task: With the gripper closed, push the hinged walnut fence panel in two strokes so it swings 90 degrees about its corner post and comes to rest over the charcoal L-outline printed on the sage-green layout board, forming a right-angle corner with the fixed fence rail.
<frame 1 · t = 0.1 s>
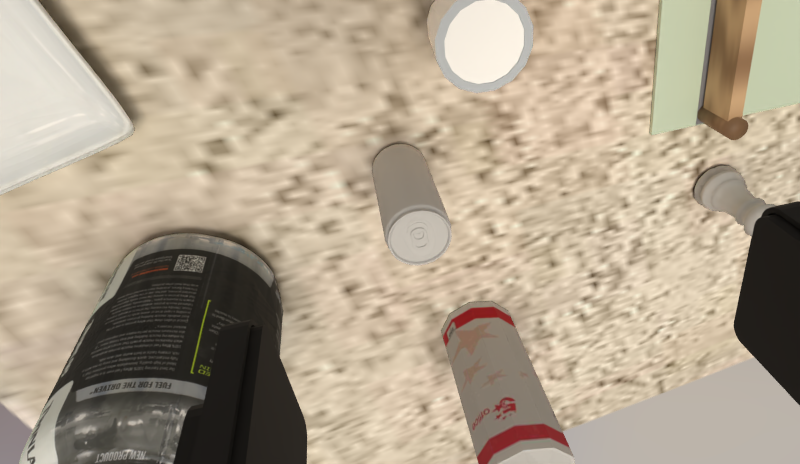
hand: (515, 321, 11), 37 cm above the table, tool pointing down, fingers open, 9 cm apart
rook chess piece: (712, 183, 55), on the table
beverage can: (398, 165, 49), on the table
white short cylinder: (461, 21, 44), on the table
supplement tub: (202, 293, 54), on the table
spray bottle: (476, 327, 61), on the table
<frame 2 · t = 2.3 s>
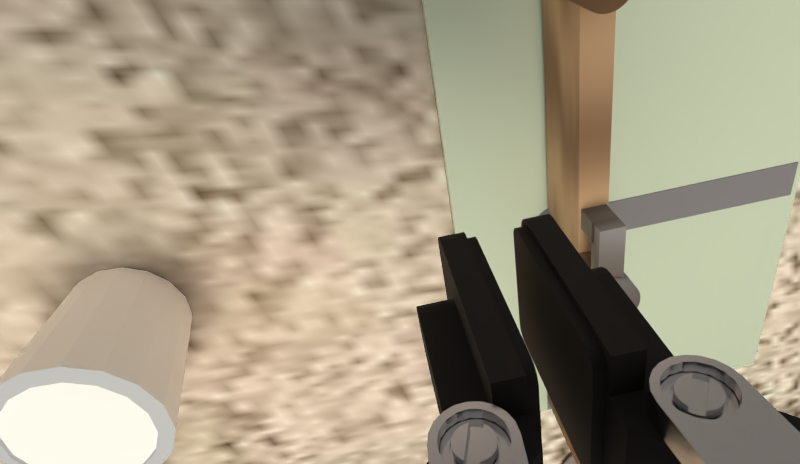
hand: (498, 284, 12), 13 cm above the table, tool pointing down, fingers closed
fixed fence: (556, 224, 27), resting on layout board
fence panel: (586, 144, 21), point 3 cm above the table, hinge at 90.0°
rook chess piece: (588, 460, 38), on the table
layout board: (625, 209, 27), on the table
white short cylinder: (132, 312, 27), on the table
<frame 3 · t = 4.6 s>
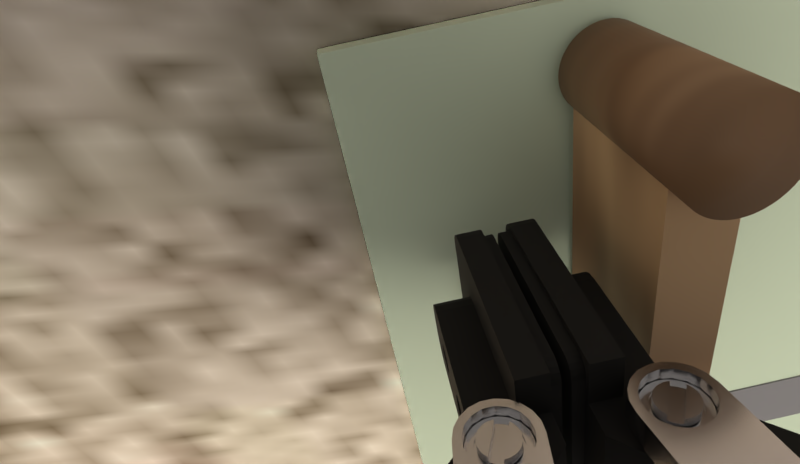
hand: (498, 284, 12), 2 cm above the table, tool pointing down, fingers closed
fence panel: (651, 391, 11), point 3 cm above the table, hinge at 88.8°, touching gripper
layout board: (689, 407, 17), on the table
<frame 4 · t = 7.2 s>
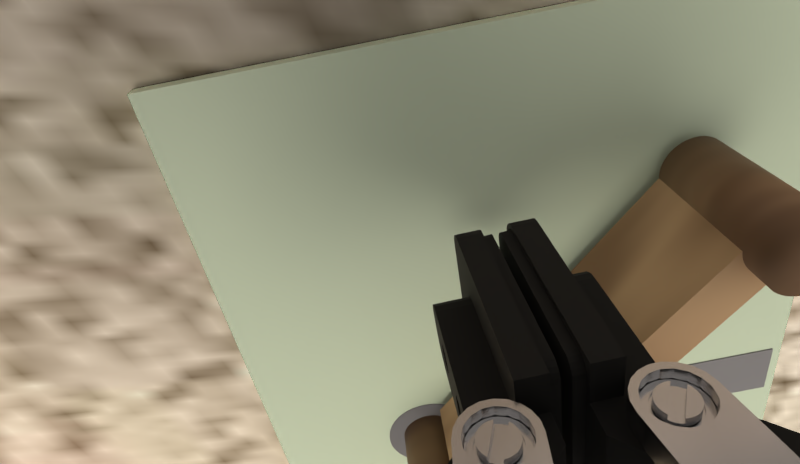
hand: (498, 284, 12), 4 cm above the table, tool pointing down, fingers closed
fixed fence: (428, 422, 19), resting on layout board
fence panel: (575, 395, 14), point 3 cm above the table, hinge at 46.3°
layout board: (527, 403, 19), on the table
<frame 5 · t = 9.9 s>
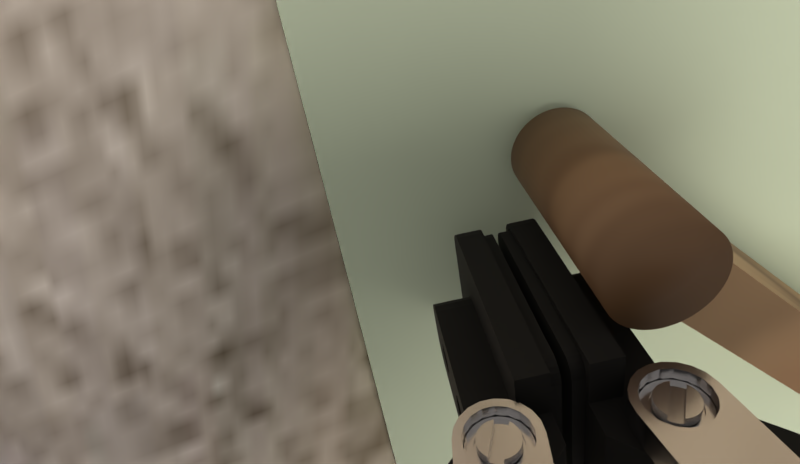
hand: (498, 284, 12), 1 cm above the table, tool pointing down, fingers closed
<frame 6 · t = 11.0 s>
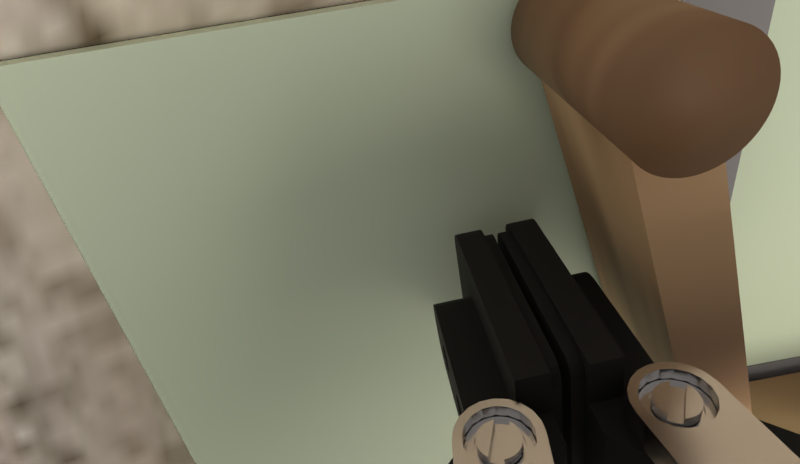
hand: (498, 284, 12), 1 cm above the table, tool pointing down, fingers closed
fixed fence: (648, 393, 16), resting on layout board
fence panel: (690, 353, 11), point 3 cm above the table, hinge at 15.9°, touching gripper
layout board: (663, 303, 15), on the table
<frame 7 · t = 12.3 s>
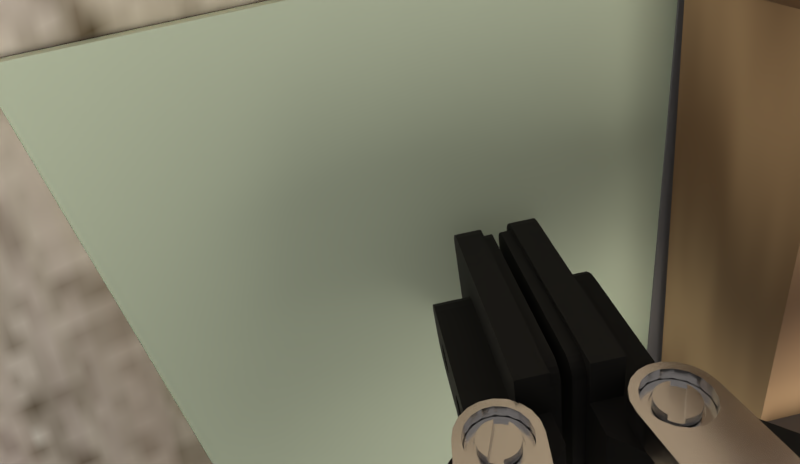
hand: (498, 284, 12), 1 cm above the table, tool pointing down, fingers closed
fence panel: (782, 300, 10), point 3 cm above the table, hinge at 1.9°
layout board: (677, 281, 14), on the table
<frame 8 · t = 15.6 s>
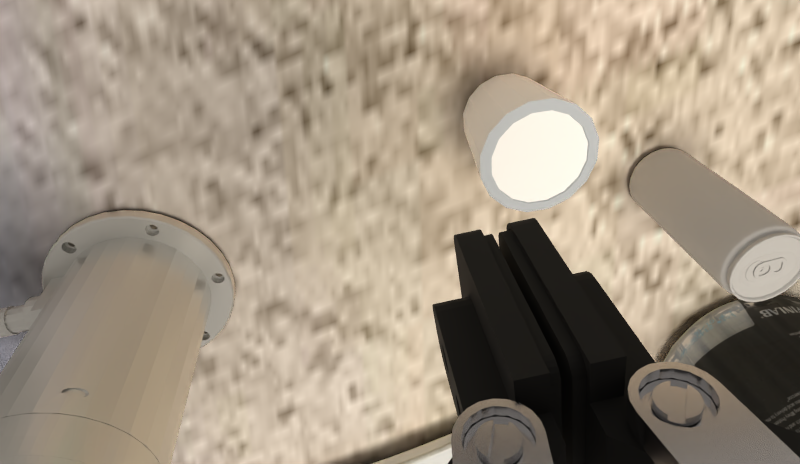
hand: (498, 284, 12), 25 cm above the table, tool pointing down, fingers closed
beverage can: (655, 173, 41), on the table
white short cylinder: (503, 114, 37), on the table
supplement tub: (731, 351, 52), on the table
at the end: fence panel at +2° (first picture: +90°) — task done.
